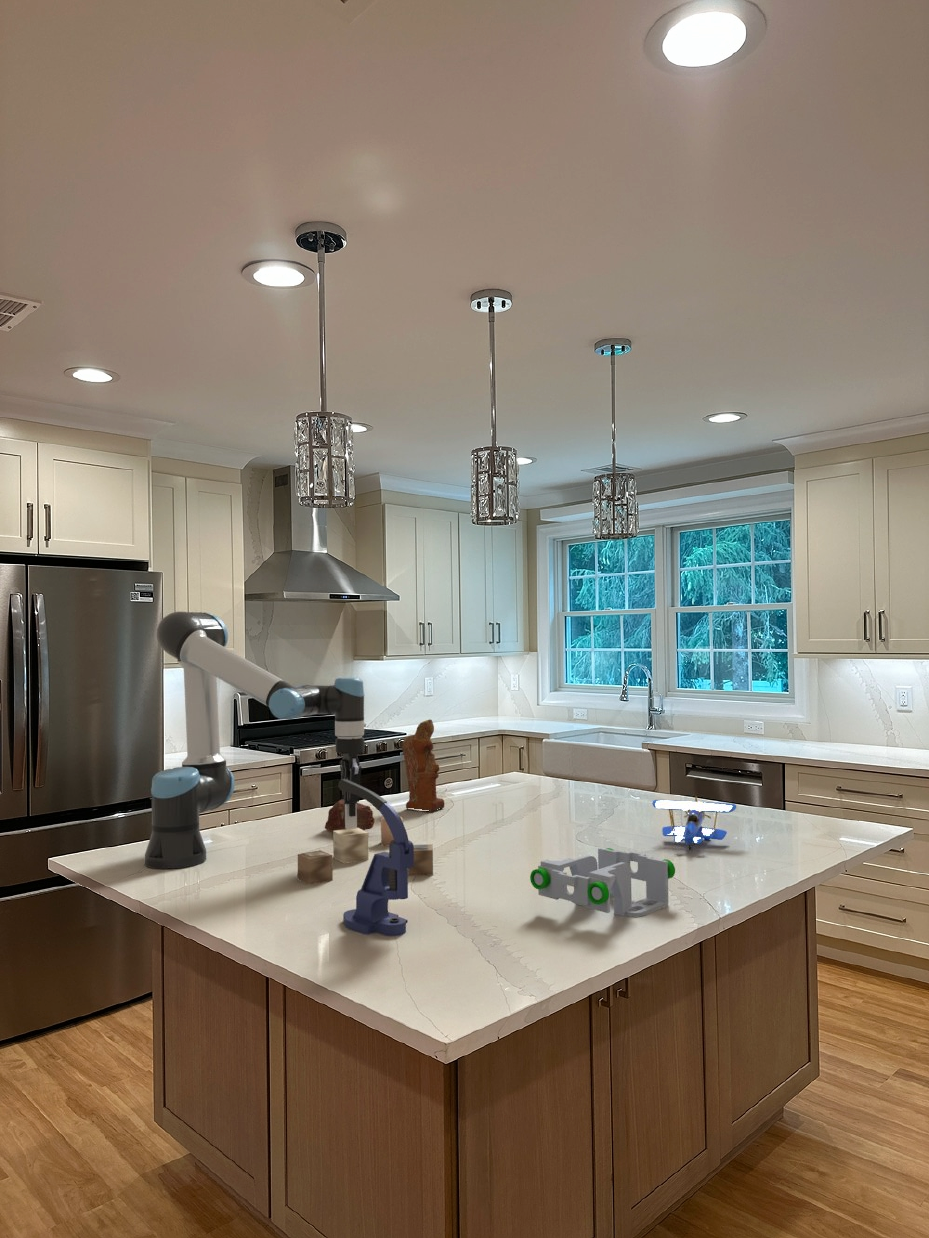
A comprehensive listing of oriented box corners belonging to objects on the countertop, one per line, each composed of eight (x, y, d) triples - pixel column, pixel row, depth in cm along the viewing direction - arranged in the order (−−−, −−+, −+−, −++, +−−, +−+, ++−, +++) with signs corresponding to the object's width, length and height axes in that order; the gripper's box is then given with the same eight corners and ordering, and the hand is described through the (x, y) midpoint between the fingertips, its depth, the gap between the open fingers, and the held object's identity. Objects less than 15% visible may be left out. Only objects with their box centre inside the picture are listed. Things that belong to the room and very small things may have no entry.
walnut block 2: (408, 875, 207) (407, 849, 207) (408, 869, 213) (408, 844, 213) (433, 875, 207) (432, 849, 207) (432, 868, 213) (432, 843, 213)
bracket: (530, 912, 178) (530, 863, 178) (603, 886, 196) (602, 842, 196) (604, 933, 165) (603, 880, 165) (675, 904, 182) (674, 856, 182)
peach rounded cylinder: (384, 846, 237) (384, 820, 237) (378, 842, 242) (378, 816, 242) (405, 844, 239) (405, 818, 239) (398, 839, 245) (398, 815, 245)
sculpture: (448, 808, 289) (447, 719, 290) (433, 813, 282) (432, 721, 283) (416, 805, 296) (415, 717, 297) (400, 809, 289) (400, 719, 290)
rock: (376, 835, 251) (376, 804, 251) (360, 839, 246) (360, 807, 247) (335, 826, 263) (335, 796, 263) (318, 830, 258) (319, 799, 258)
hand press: (423, 929, 167) (422, 784, 168) (391, 942, 161) (390, 791, 162) (357, 911, 180) (356, 776, 180) (324, 922, 173) (323, 781, 174)
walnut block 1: (309, 885, 200) (309, 858, 200) (297, 879, 205) (297, 853, 205) (332, 880, 204) (332, 854, 204) (320, 875, 208) (320, 849, 208)
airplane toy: (724, 882, 223) (731, 837, 219) (638, 861, 230) (644, 817, 226) (731, 835, 246) (738, 793, 242) (653, 817, 253) (658, 777, 249)
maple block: (342, 863, 219) (342, 835, 219) (333, 857, 225) (333, 830, 225) (368, 860, 222) (368, 832, 223) (358, 854, 229) (358, 827, 229)
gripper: (371, 738, 220) (372, 831, 219) (357, 733, 232) (358, 822, 231) (342, 740, 217) (343, 834, 217) (329, 735, 229) (330, 824, 229)
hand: (351, 828), depth 224 cm, fingers closed
